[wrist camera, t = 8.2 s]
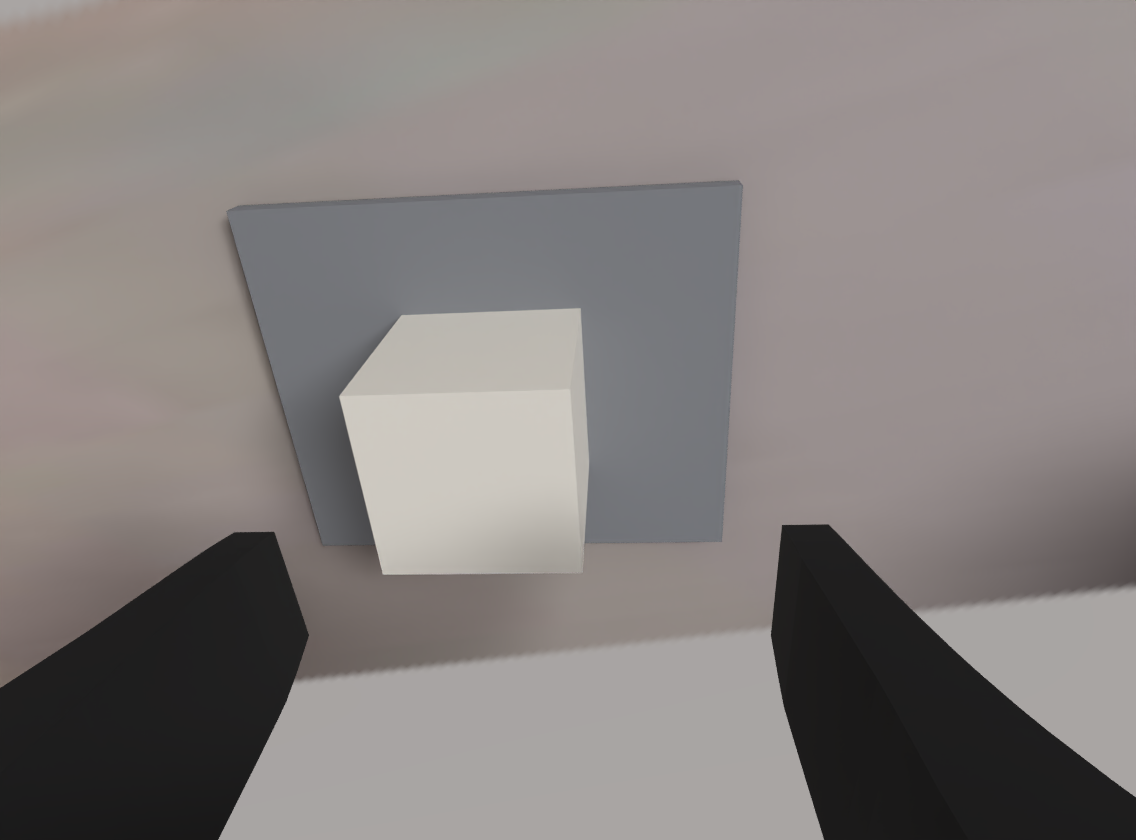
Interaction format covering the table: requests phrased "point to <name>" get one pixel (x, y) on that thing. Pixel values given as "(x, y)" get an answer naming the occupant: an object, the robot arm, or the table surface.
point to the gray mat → (514, 283)
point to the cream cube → (474, 443)
